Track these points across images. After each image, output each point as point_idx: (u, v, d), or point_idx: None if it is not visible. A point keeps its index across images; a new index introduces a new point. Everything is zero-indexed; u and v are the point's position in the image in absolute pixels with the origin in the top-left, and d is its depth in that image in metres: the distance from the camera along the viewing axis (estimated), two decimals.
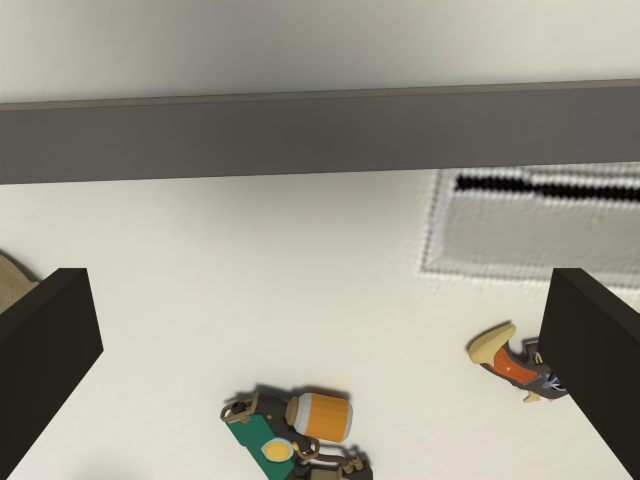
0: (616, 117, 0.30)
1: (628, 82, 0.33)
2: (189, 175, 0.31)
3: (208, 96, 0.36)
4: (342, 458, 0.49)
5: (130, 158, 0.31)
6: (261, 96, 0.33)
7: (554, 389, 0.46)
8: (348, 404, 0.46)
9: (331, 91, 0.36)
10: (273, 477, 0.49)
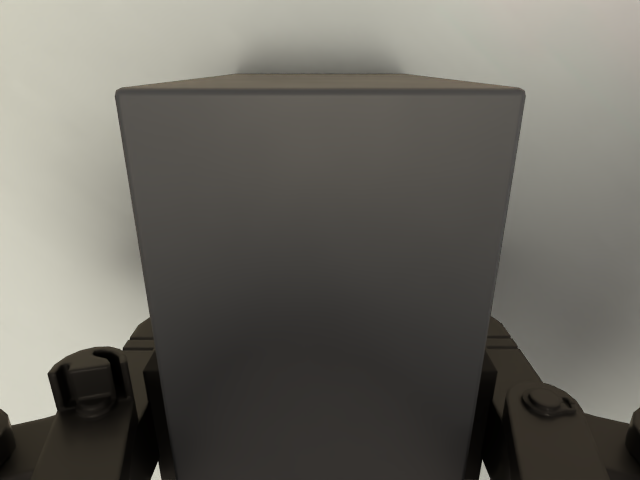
0: None
1: None
2: None
3: None
4: None
5: None
6: None
7: None
8: None
9: None
10: None
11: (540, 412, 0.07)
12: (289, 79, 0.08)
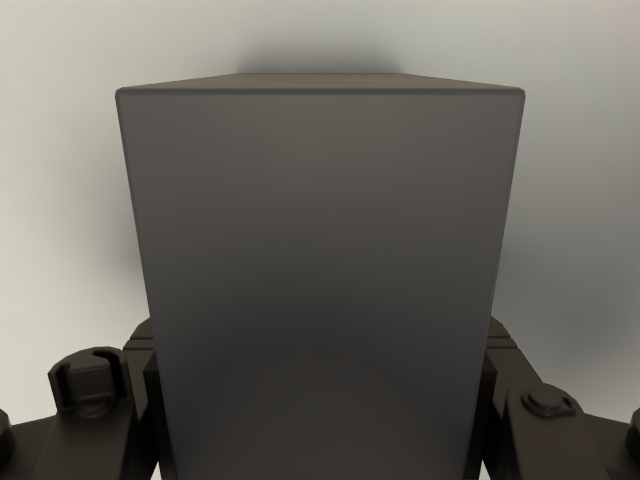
0: None
1: None
2: None
3: None
4: None
5: None
6: None
7: None
8: None
9: None
10: None
11: (541, 412, 0.07)
12: (289, 79, 0.08)
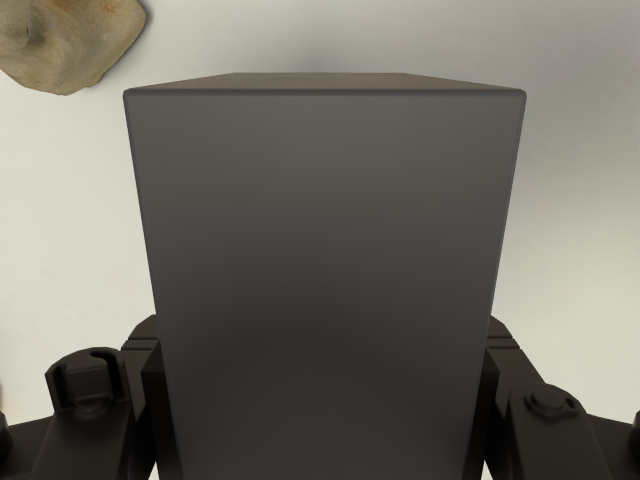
0: None
1: None
2: None
3: None
4: None
5: None
6: None
7: None
8: None
9: None
10: None
11: (543, 413, 0.07)
12: (291, 79, 0.08)
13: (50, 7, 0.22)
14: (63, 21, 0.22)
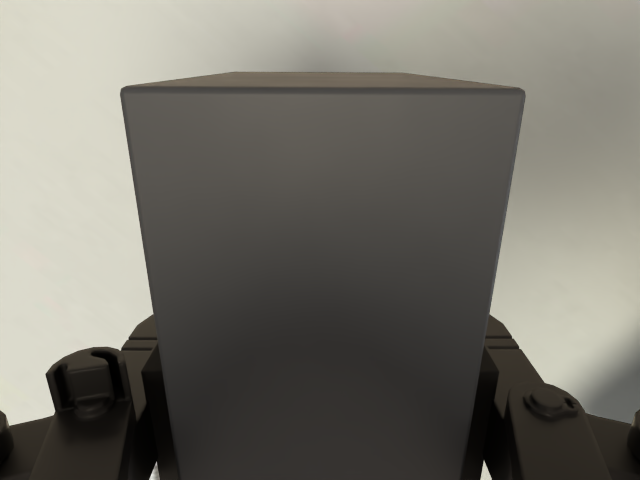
0: None
1: None
2: None
3: None
4: None
5: None
6: None
7: None
8: None
9: None
10: None
11: (542, 413, 0.07)
12: (290, 78, 0.08)
13: None
14: None
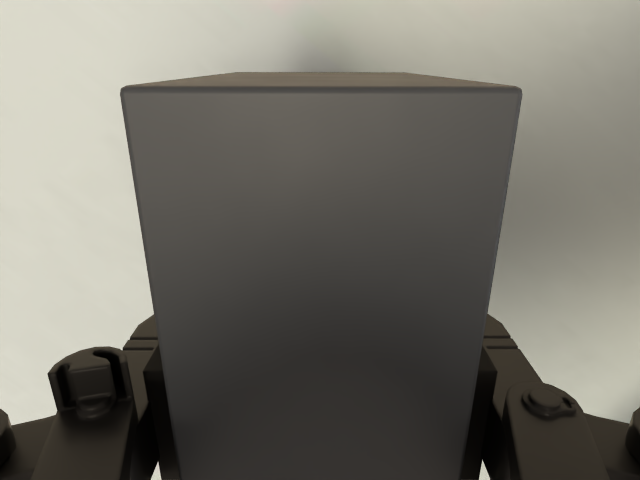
0: None
1: None
2: None
3: None
4: None
5: None
6: None
7: None
8: None
9: None
10: None
11: (541, 413, 0.07)
12: (290, 77, 0.08)
13: None
14: None
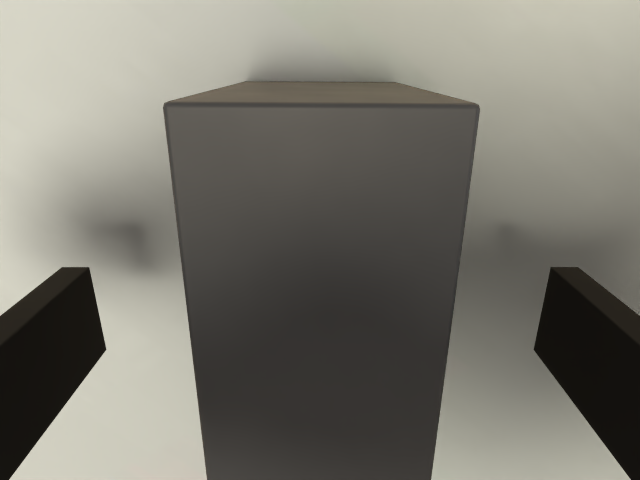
0: None
1: None
2: None
3: None
4: None
5: None
6: None
7: None
8: None
9: None
10: None
11: None
12: (295, 90, 0.10)
13: None
14: None
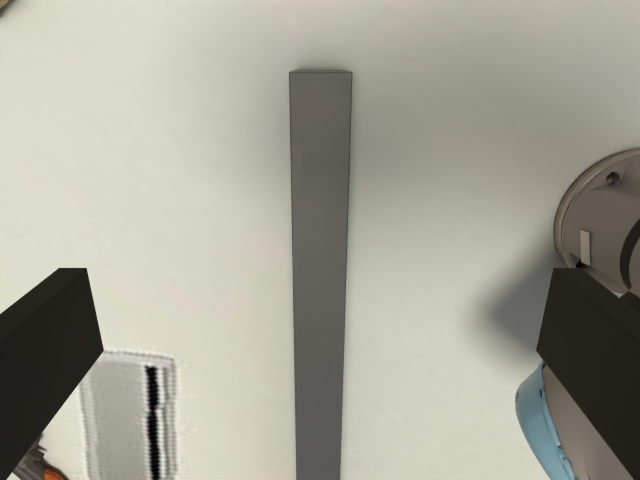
0: None
1: None
2: (294, 286, 0.42)
3: None
4: None
5: (308, 248, 0.41)
6: None
7: None
8: None
9: None
10: None
11: None
12: None
13: None
14: None
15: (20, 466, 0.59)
